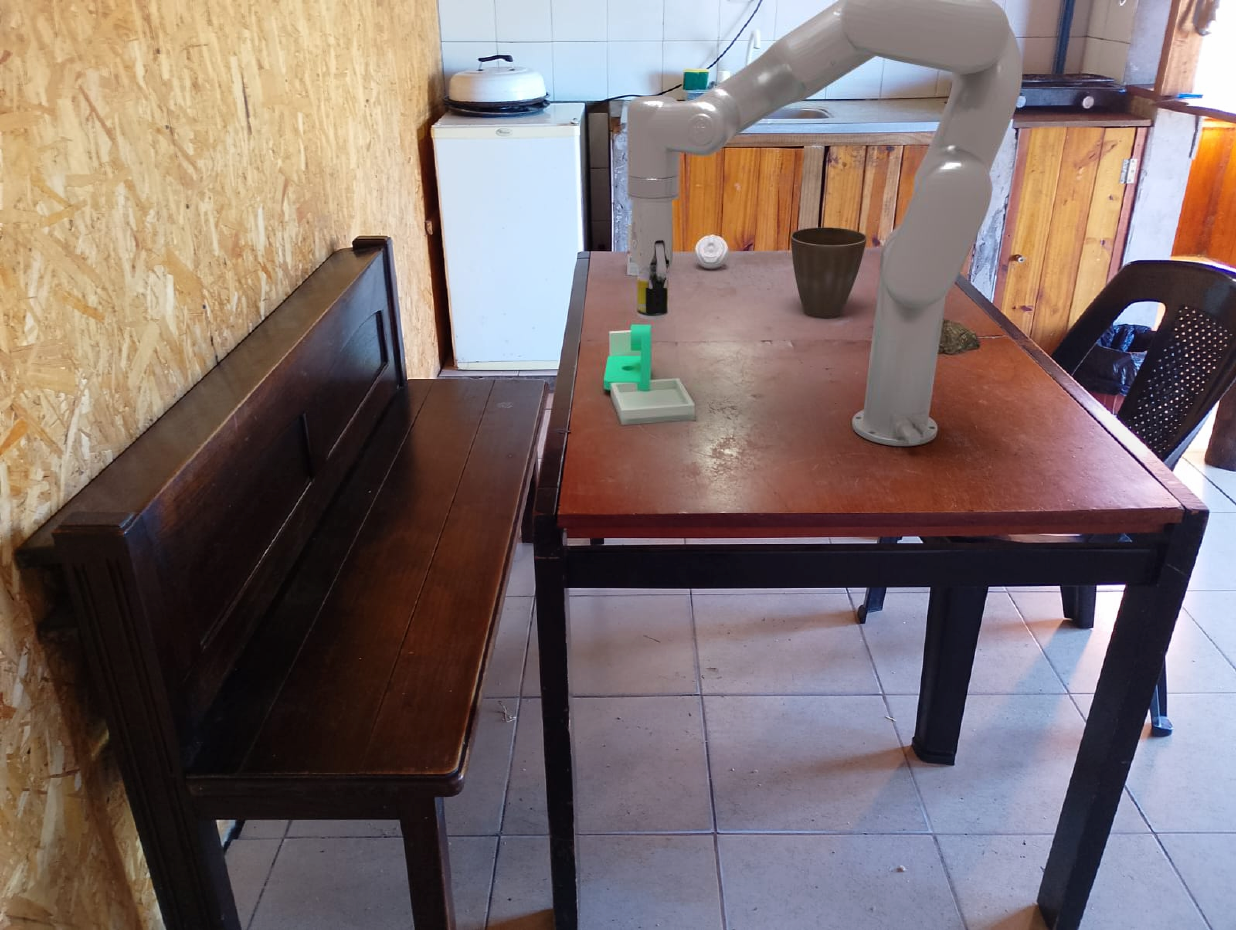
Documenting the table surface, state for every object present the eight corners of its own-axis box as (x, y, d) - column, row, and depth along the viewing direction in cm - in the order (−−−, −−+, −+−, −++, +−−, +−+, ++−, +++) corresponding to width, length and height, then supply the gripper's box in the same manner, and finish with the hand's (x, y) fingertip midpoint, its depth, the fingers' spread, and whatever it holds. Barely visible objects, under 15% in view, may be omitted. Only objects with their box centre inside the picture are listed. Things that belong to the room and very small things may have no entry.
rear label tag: (643, 368, 173) (643, 331, 169) (610, 371, 172) (610, 333, 169) (642, 366, 174) (642, 329, 170) (609, 368, 173) (609, 331, 170)
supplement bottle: (658, 321, 147) (658, 267, 143) (631, 317, 149) (631, 263, 145) (673, 313, 150) (674, 260, 147) (647, 308, 153) (647, 256, 149)
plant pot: (839, 329, 191) (846, 248, 183) (772, 315, 199) (777, 238, 191) (870, 310, 201) (879, 233, 194) (806, 298, 209) (812, 223, 202)
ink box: (667, 272, 229) (667, 222, 223) (661, 278, 224) (662, 226, 219) (632, 269, 231) (632, 219, 226) (626, 275, 227) (626, 224, 221)
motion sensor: (692, 271, 229) (693, 239, 225) (695, 263, 235) (696, 231, 232) (726, 273, 228) (728, 240, 224) (728, 264, 234) (730, 232, 231)
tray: (694, 419, 153) (694, 405, 151) (621, 425, 151) (621, 410, 150) (678, 392, 163) (679, 378, 162) (610, 396, 161) (610, 382, 160)
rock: (933, 329, 191) (937, 305, 189) (987, 346, 182) (992, 321, 180) (890, 343, 184) (893, 318, 182) (944, 361, 175) (948, 335, 173)
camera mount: (608, 369, 172) (607, 313, 167) (651, 369, 172) (651, 314, 167) (603, 395, 161) (602, 337, 157) (649, 396, 161) (649, 337, 156)
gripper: (618, 177, 148) (619, 293, 156) (638, 200, 133) (638, 326, 141) (666, 175, 149) (665, 290, 157) (691, 197, 134) (688, 323, 142)
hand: (652, 306), depth 149 cm, fingers closed on supplement bottle, 4 cm apart
